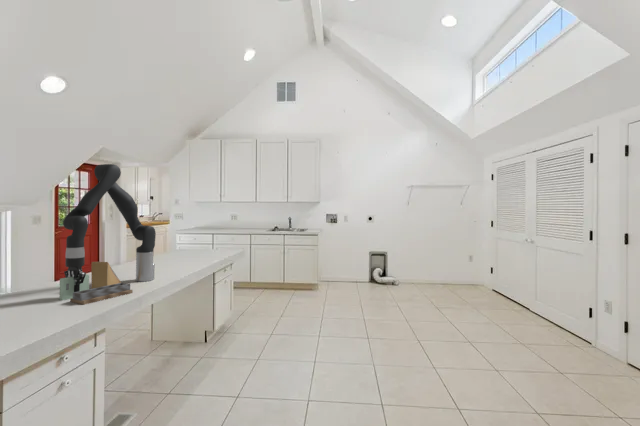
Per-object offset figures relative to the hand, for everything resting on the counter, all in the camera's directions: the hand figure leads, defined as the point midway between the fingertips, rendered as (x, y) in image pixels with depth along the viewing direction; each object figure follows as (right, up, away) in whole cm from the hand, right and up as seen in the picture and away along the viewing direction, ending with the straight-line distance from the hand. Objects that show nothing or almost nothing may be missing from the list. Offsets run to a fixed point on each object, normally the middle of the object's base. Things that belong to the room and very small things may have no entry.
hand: (74, 291), depth 163 cm
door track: (+13, -3, +1) cm, 14 cm away
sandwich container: (+1, -3, +23) cm, 24 cm away
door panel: (0, -3, 0) cm, 3 cm away
